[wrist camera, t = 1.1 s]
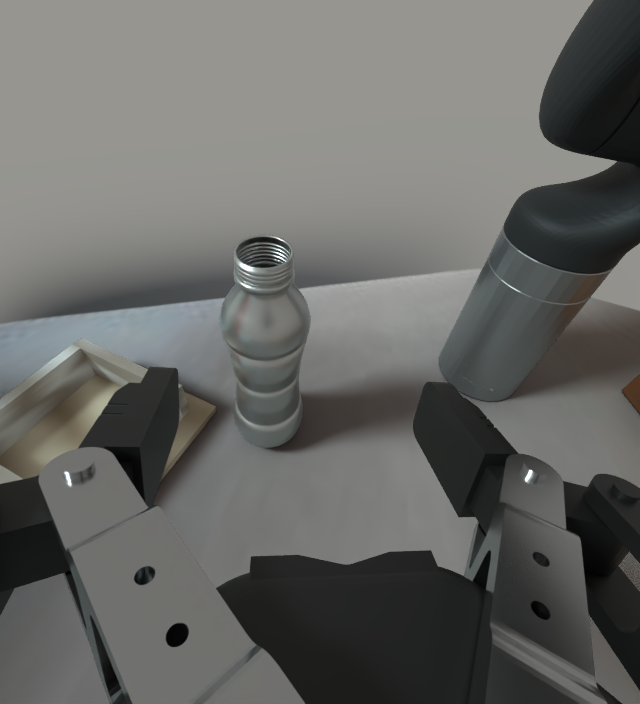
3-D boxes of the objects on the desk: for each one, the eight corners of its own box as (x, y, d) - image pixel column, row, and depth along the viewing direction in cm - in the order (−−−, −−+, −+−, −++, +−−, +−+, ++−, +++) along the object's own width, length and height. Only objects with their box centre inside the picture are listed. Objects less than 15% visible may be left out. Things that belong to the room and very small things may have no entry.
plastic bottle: (305, 401, 39) (323, 229, 24) (296, 461, 35) (311, 293, 20) (245, 393, 39) (226, 216, 24) (228, 452, 35) (191, 277, 20)
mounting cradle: (95, 353, 41) (78, 321, 38) (216, 410, 38) (210, 382, 34) (-59, 477, 31) (-103, 450, 27) (87, 573, 27) (59, 556, 24)
